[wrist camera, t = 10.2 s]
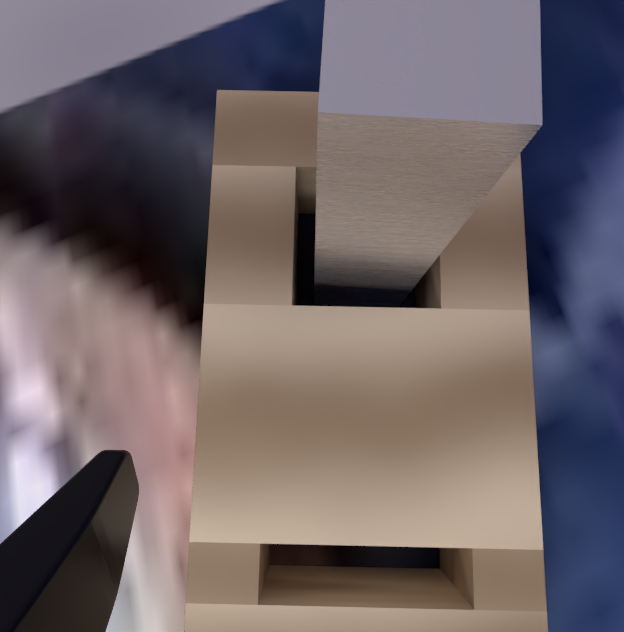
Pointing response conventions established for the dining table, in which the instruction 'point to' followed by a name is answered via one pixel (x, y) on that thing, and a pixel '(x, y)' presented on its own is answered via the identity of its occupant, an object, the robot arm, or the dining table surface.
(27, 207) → the dining table surface
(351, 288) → the square bit
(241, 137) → the socket block
